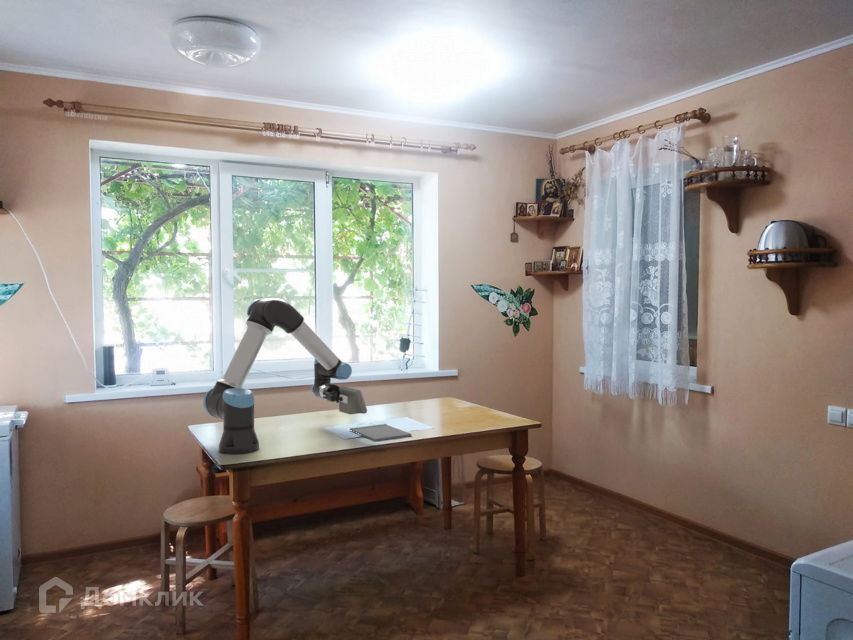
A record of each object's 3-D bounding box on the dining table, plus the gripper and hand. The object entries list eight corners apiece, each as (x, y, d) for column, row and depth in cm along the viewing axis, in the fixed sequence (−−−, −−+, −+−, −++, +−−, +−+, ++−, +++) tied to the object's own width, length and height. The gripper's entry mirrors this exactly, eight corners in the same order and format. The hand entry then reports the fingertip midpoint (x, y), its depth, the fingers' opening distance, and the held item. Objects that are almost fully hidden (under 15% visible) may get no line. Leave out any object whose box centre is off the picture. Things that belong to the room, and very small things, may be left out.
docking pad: (374, 441, 249) (374, 438, 249) (349, 430, 270) (349, 427, 270) (411, 436, 259) (411, 433, 259) (384, 426, 279) (384, 423, 279)
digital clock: (368, 414, 251) (368, 389, 251) (348, 416, 247) (348, 390, 247) (355, 408, 265) (355, 384, 265) (335, 409, 261) (335, 385, 261)
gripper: (349, 399, 277) (372, 406, 257) (311, 402, 267) (333, 410, 247) (349, 382, 277) (372, 389, 257) (311, 385, 267) (333, 392, 247)
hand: (353, 399), depth 252 cm, fingers closed on digital clock, 5 cm apart
